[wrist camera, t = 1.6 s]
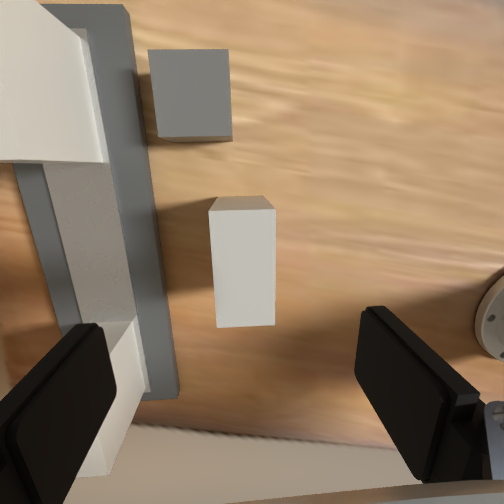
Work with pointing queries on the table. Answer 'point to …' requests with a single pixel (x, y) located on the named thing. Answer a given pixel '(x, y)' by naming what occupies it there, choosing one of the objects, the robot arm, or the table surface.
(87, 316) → the metal rail
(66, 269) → the rail board
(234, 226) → the block
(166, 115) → the block
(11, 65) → the mounted modules
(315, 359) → the table surface
